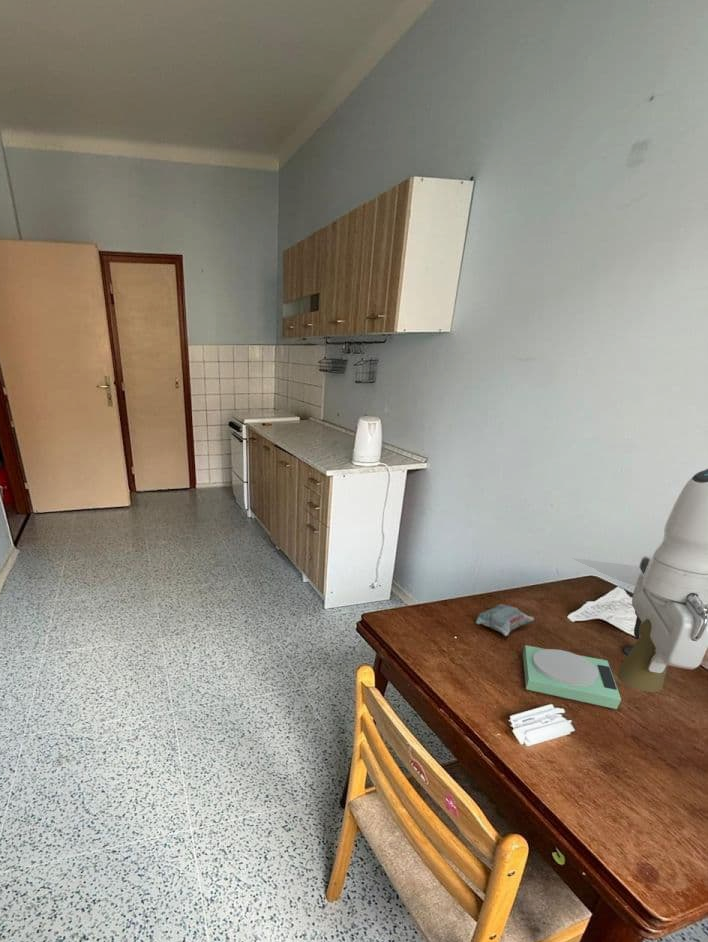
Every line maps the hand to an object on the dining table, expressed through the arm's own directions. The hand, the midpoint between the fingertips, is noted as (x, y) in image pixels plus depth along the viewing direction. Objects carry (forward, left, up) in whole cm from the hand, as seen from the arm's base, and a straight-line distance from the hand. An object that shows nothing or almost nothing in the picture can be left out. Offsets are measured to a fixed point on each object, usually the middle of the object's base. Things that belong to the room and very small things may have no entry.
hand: (648, 659), depth 75 cm
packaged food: (+17, -37, -19) cm, 45 cm away
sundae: (-11, -36, -19) cm, 43 cm away
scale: (+5, -19, -19) cm, 27 cm away
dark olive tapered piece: (0, 0, -4) cm, 4 cm away
